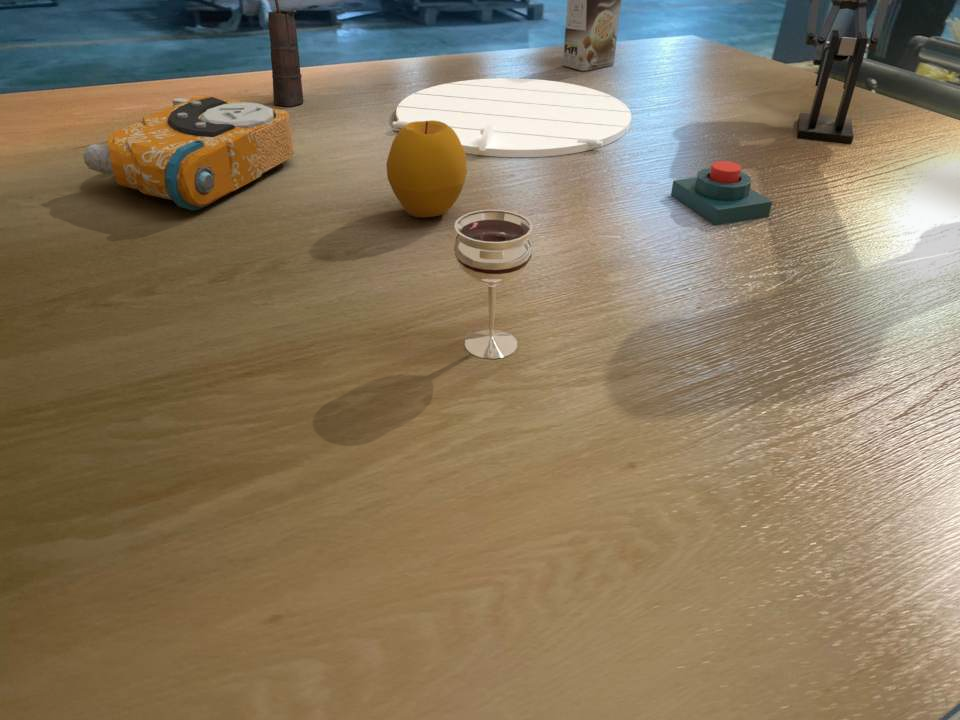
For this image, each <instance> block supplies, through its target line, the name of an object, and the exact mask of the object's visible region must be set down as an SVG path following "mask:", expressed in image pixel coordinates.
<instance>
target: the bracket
mask: <svg viewBox="0 0 960 720" xmlns="http://www.w3.org/2000/svg"><path fill="white" fill-rule="evenodd" d="M868 38H869V36H868V32H867V33H865V32H860V33H859V37H858V40H857V44H856V48H855V51H854V55H853V58H852V62H851V66H850V69H849V73H848V77H847V80H846V84H845V88H844V89H843V91H842V96H841V99H840V103H839V105H838V110H837V114H836V116H835V115H827V114H820V112H821V109H822V104H823V101H824V97H825V93H826V89H827V85H828V82H829V77H830V74H831V70H832V66H833V62H834V61H833V59H834V55H835V51H836V48H837V44H838V40H839V39H840V32H839V29H837V30H836V29H831V30H830V34H829V39H827V40H826V43H825V48H824V50H827V51H826V54H825V58H824V62H823V66H822V70H821V74H820V78H819V82H818V86H816V90H815V93H814V97H813V102H812V105H811V109H810V113H808V112H806V113H805V112H799V114H798V118H797V132H796V133H797V134H796V136H797V137H796V138H797V139H803V140H812V141H821V142H829V143H839V144H847V145H848V144H849V145H852V143H853V140H854V131H853V123H852V118H851V117H847V115H848V113H849V108H850V105H851V102H852V99H853V94H854V92H855V88H856V85H857V80H858V77H859V75H860V74H859V73H860V69H861V67H862V65H861V63H862V64H863V62H862V59H863V60H864V58H863V56H864V57H865V54H867V53H868V51H869V50H868V47H869V43H867V42H868Z"/></svg>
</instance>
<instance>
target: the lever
mask: <svg viewBox="0 0 960 720" xmlns="http://www.w3.org/2000/svg"><path fill="white" fill-rule="evenodd" d="M856 41H857V38H855V37H847V36H840V37H839V40H838V44H837V48H836V51H835V55H834V59H833V62H835V63H841V62H844V61H846V60H847V59H849V56H852V55H853V53H854V49H855V45H856Z"/></svg>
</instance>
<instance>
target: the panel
mask: <svg viewBox="0 0 960 720" xmlns="http://www.w3.org/2000/svg"><path fill="white" fill-rule="evenodd" d="M710 170H711V167H709V168H703V169H701V170H700V171H698V172H697V173H696V177H695V176H694V177H688V178H682V179H675V180H672V185H671V192H670V196H671V197H672V198H673V199H675V200H676V201H678V202H679V203H681V204H682V205H684V206H685V207H686V208H688V209H689V210H691V211H692V212H694V213H695V214H696V215H698V216H699V217H701V218H702V219H704V220H705V221H707V222H708V223H710V224H711V225H712V226H715V227H716V226H717V227H718V226H722V225H729V224H734V223H741V222H746V221H754V220H759V219H764V218H769V217H770V213H771V210H772V204H773V200H771V199H769V198H768V197H766V196H764V195H763V194H761V193H759V192H757V191H755V190H754V189H752V188H751V186H752V179H751V176H750V175H748V174H747V173H745V172H743V171H741V172H740V176H739V181H738V182H737V183H731V184H729V183H719V182H716V181H712V180H711V179H709V175H710Z"/></svg>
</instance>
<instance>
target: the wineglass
mask: <svg viewBox="0 0 960 720" xmlns="http://www.w3.org/2000/svg"><path fill="white" fill-rule="evenodd" d="M453 228H454V229H455V231H456V233H457V235H456V237H455V241H454V246H453V251H454V255H455V256H454V257H455V259H456V261H457V264H458V266H459V268H460V269H461V270H462V271H463V272H464V273H466V274H467V275H468V276H469V277H470V278H472V279H473V280H474V281H476V282H479V283H482V284H484V285H485V286H486V287H487V300H488V301H487V302H488V303H487V304H488V328H487V329H481V330H477V331H475V332H472V333H470V334H469V335H468V336H467V337H466V339H465V340H464V348H465V349H466V351H467V352H469V353H470V354H471V355H474V356H475V357H478V358H482V359H489V360H490V359H491V360H494V359H496V360H497V359H502V358H503V359H504V358H505V357H507V356H508V357H509V356H510V355H512V354H513V353H514V352H515V351H516V350H517V348H518V341H517V339H516V337H515V336H513V335H512V334H511V333H509V332H506V331H504V330H500V329H495V318H496V317H495V316H496V301H497V287H498V286H500V285H501V284H504V283H508V282H510V281H512V280H513V279H515V278H516V277H518V276H519V275H520V274H522V273H523V272H524V270H526V268H527V266H528V264H529V263H530V261H531V259H532V254H533V243H532V239H531V237H530V236H529V235H530V234H531V233H532V231H533V223H532V221H531V220H530V219H529V218H527V217H526V216H524V215H523V214H520V213H517V212H514V211H509V210H504V209H481V210H475V211H471V212H467V213H466V214H463V215H462V216H460V217H458V218H457V219H456V220H455V222H454V227H453Z"/></svg>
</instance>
